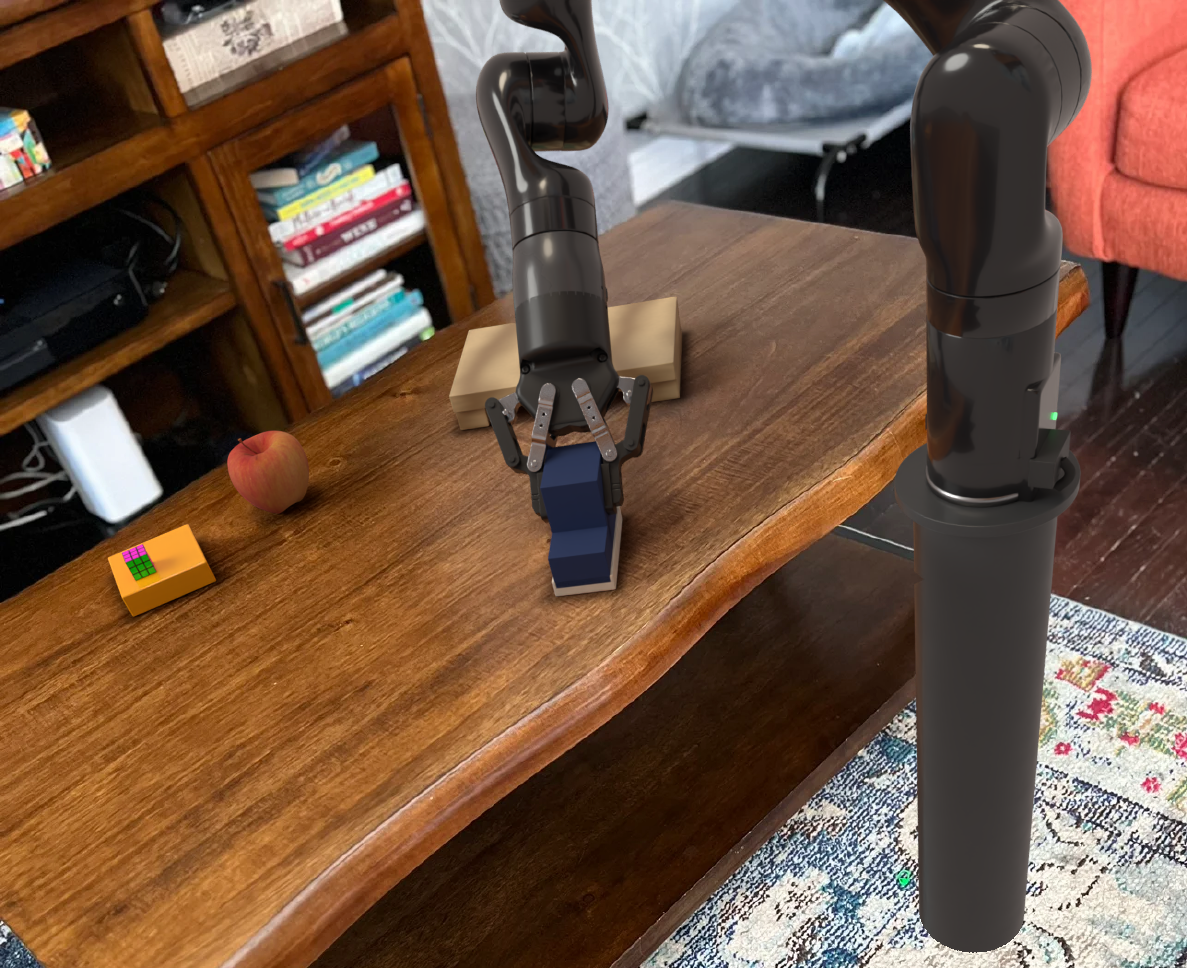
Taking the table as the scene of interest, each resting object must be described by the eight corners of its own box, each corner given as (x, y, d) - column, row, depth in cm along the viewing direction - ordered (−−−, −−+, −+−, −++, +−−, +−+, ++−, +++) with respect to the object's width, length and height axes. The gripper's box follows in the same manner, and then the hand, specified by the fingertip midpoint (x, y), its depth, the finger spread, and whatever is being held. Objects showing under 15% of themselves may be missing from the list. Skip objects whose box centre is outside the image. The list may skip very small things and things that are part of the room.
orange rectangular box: (118, 576, 115) (96, 539, 112) (198, 542, 117) (178, 504, 114) (133, 617, 110) (110, 579, 107) (216, 581, 111) (197, 542, 108)
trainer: (566, 526, 106) (545, 444, 101) (622, 519, 105) (605, 436, 100) (555, 597, 99) (532, 513, 94) (616, 589, 98) (596, 505, 93)
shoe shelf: (682, 333, 127) (676, 294, 124) (679, 401, 118) (673, 360, 115) (478, 365, 131) (468, 328, 128) (459, 433, 122) (448, 394, 119)
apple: (336, 494, 118) (306, 419, 113) (278, 534, 115) (245, 460, 109) (291, 477, 122) (260, 404, 117) (234, 515, 119) (199, 442, 114)
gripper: (462, 303, 97) (481, 519, 97) (641, 273, 94) (660, 495, 94) (488, 336, 104) (506, 536, 104) (654, 309, 101) (672, 515, 101)
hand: (579, 515), depth 99 cm, fingers closed on trainer, 4 cm apart
